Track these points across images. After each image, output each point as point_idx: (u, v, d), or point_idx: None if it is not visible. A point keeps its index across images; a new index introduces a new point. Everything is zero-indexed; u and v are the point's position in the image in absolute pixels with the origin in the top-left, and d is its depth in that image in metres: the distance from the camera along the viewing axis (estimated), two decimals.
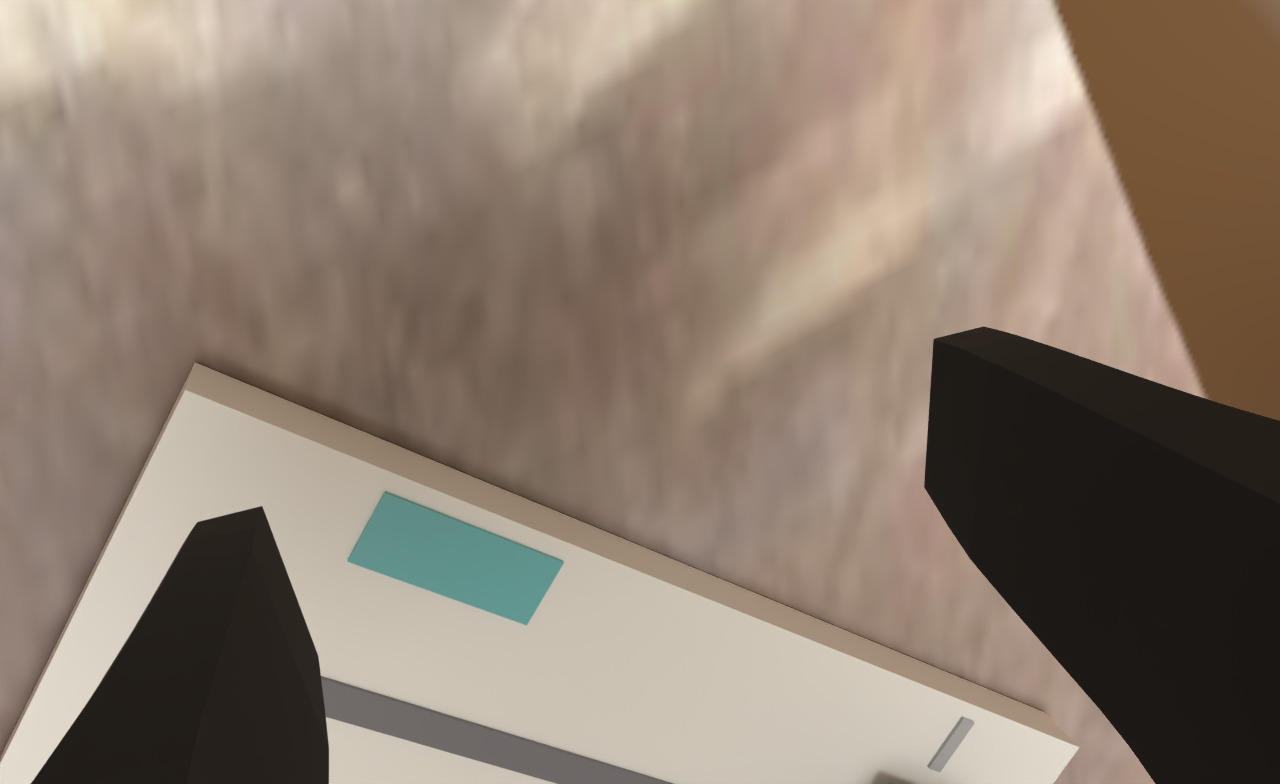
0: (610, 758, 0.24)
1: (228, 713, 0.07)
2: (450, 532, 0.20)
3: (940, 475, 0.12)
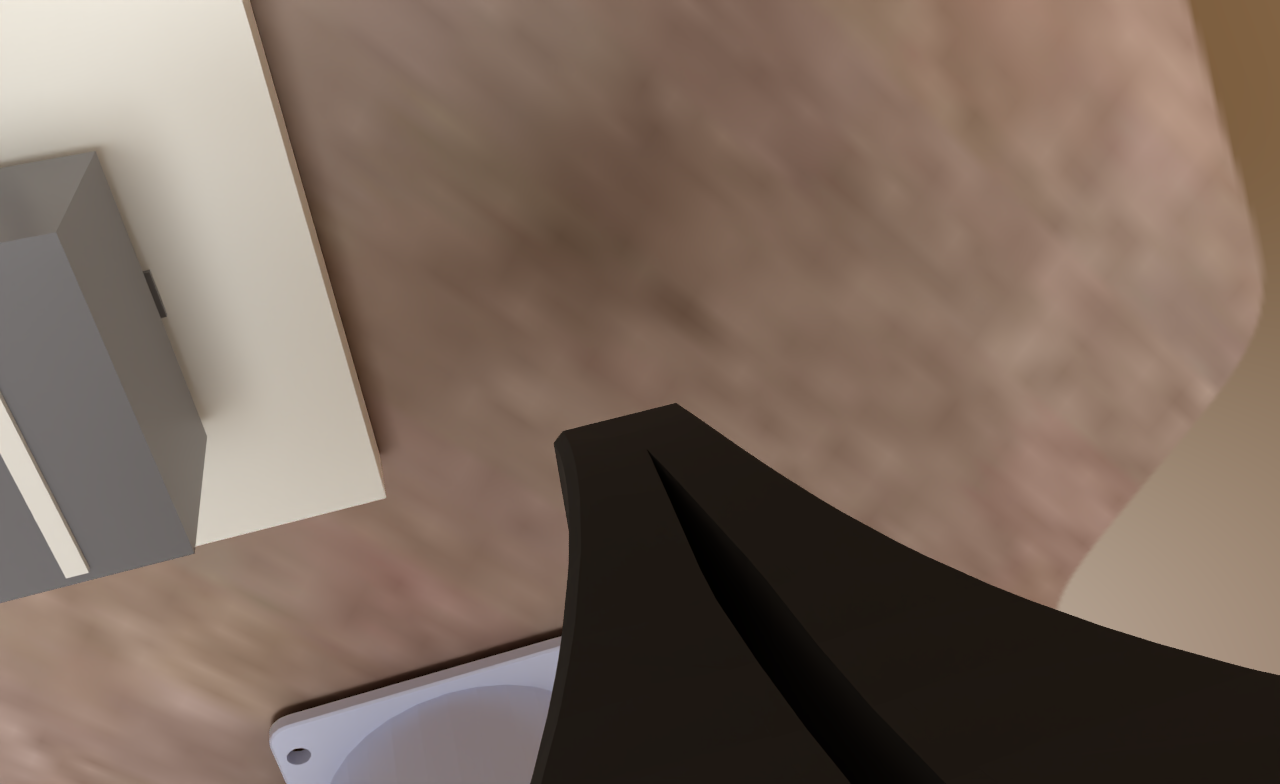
0: None
1: None
2: None
3: None
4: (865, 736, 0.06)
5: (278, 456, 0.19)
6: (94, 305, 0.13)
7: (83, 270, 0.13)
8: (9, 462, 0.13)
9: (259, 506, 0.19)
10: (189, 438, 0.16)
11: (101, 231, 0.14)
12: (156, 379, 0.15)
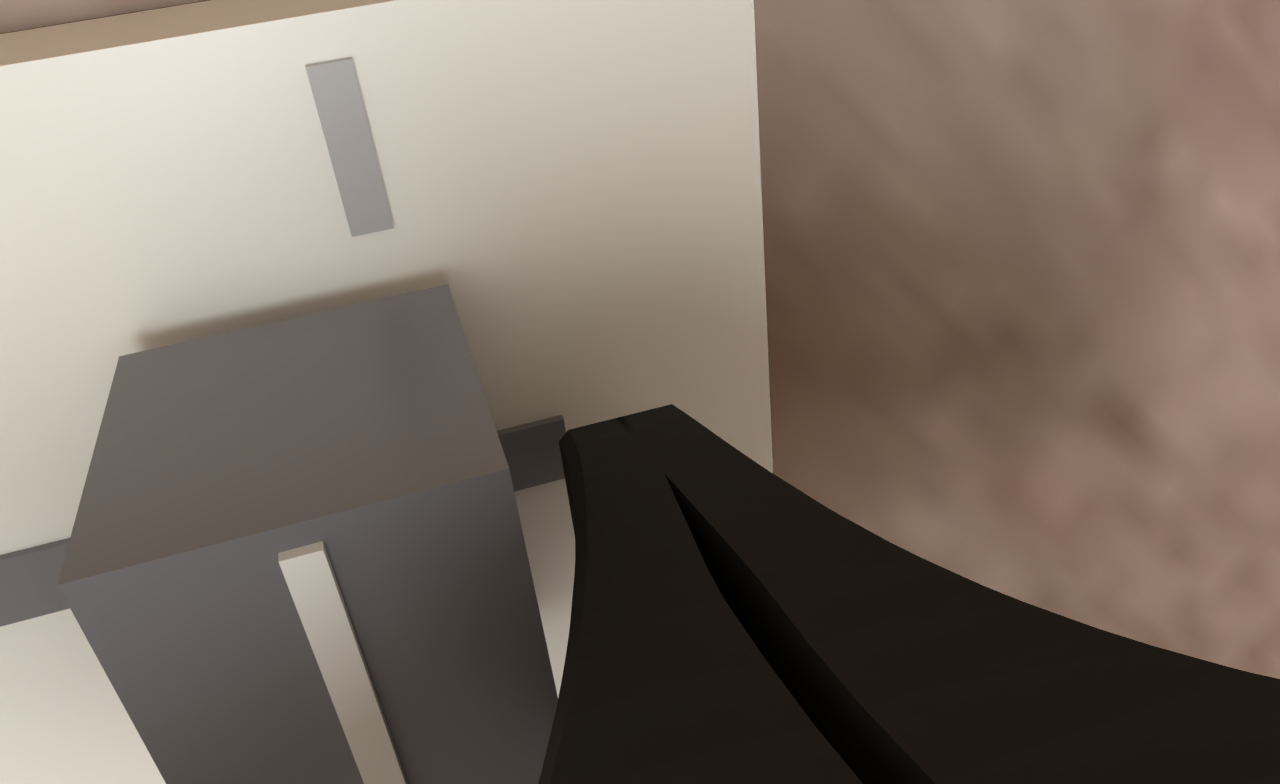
0: None
1: None
2: None
3: None
4: (857, 738, 0.06)
5: None
6: (527, 562, 0.08)
7: None
8: None
9: None
10: None
11: None
12: None
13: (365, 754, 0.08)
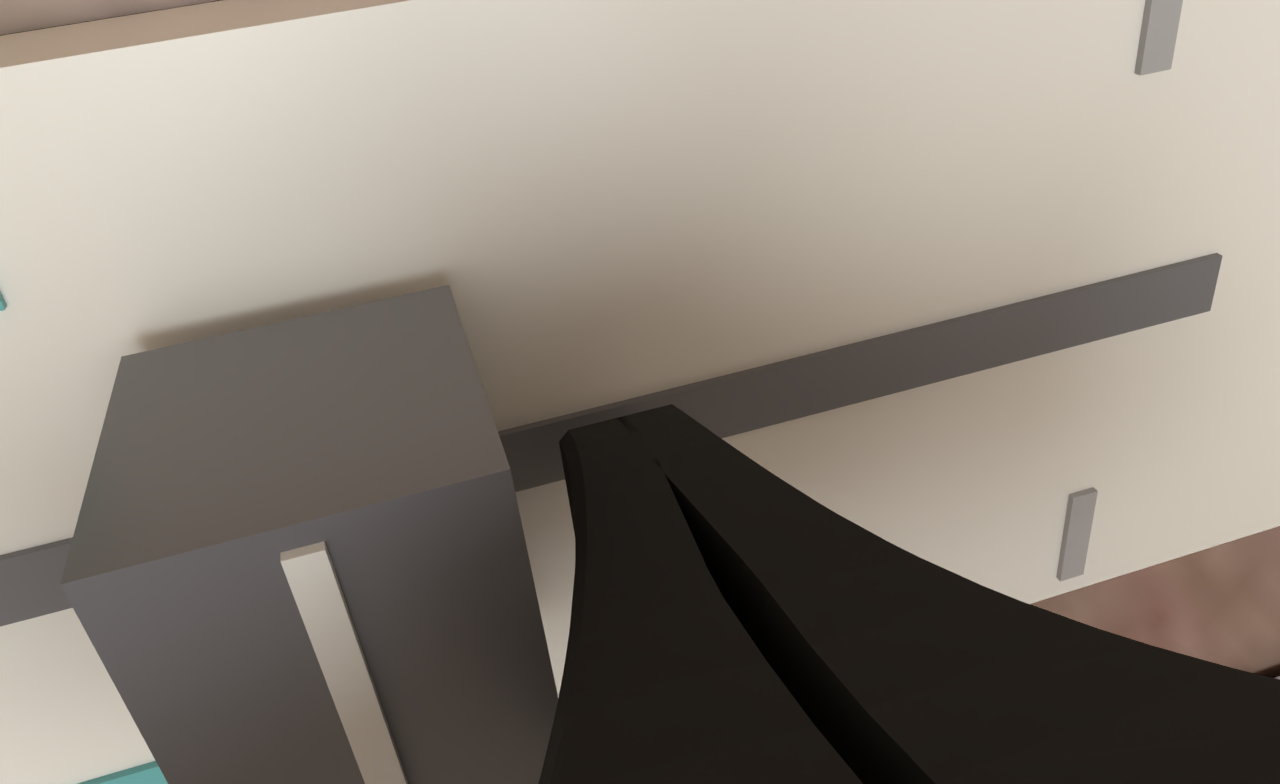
0: None
1: None
2: None
3: None
4: (859, 737, 0.06)
5: (1215, 477, 0.16)
6: (527, 563, 0.08)
7: None
8: None
9: (1169, 536, 0.16)
10: None
11: None
12: None
13: (366, 753, 0.08)
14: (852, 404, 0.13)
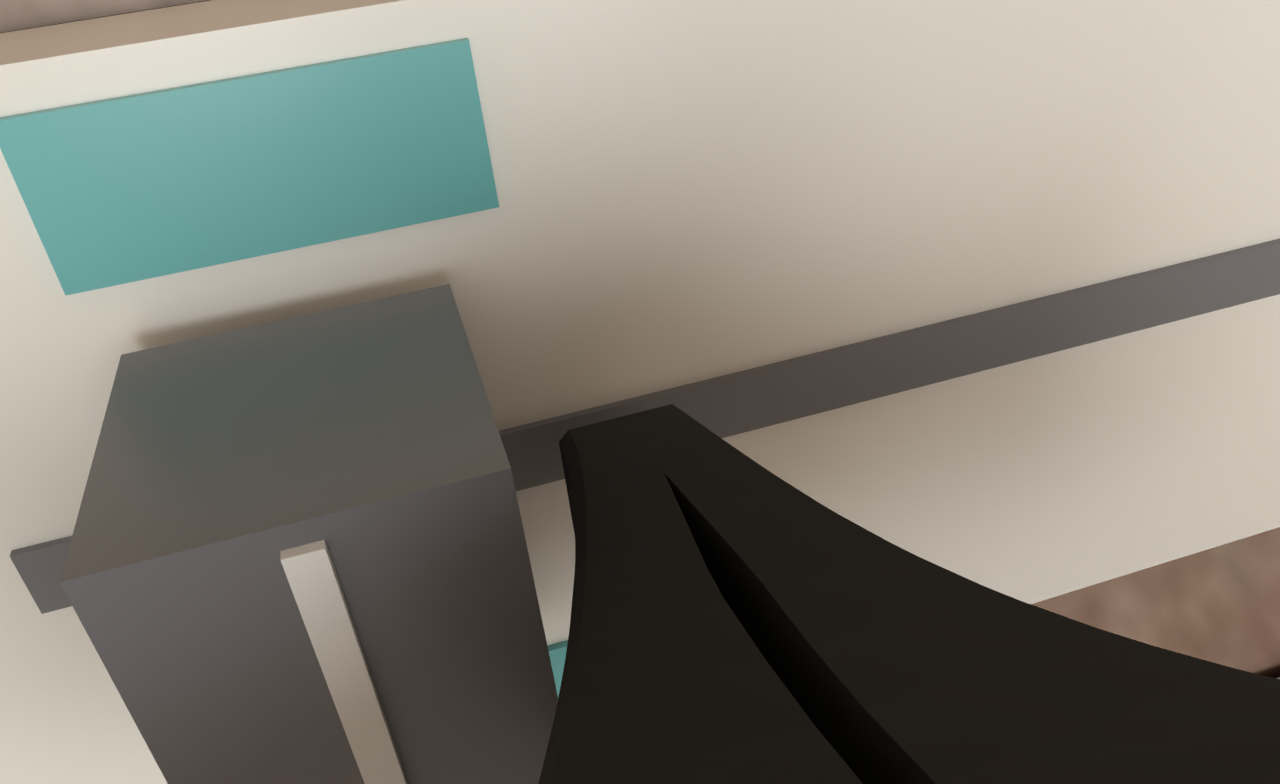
0: (829, 339, 0.12)
1: None
2: (194, 120, 0.09)
3: None
4: (859, 736, 0.06)
5: None
6: (528, 561, 0.08)
7: None
8: None
9: None
10: None
11: None
12: None
13: (365, 753, 0.08)
14: (1166, 323, 0.14)
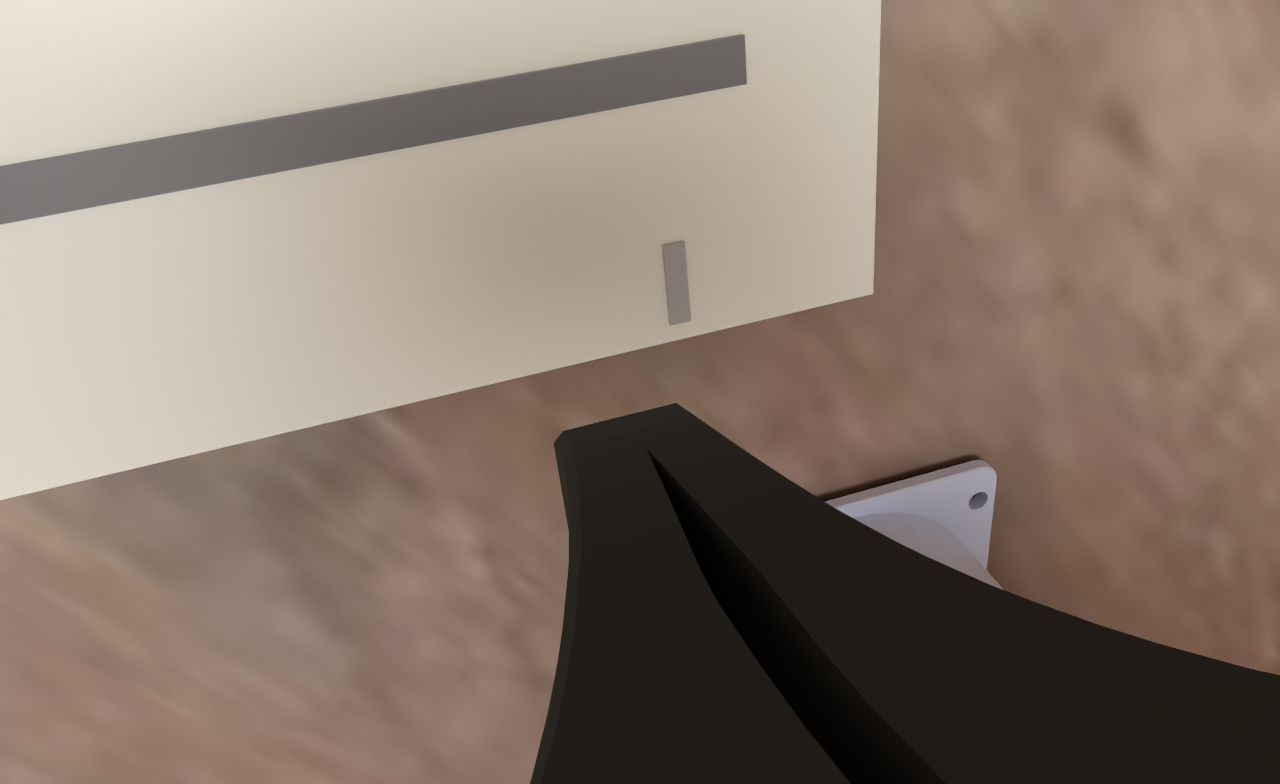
0: (99, 137, 0.15)
1: None
2: None
3: None
4: (865, 733, 0.06)
5: (796, 242, 0.19)
6: None
7: None
8: None
9: (767, 294, 0.20)
10: None
11: None
12: None
13: None
14: (443, 142, 0.16)
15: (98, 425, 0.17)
